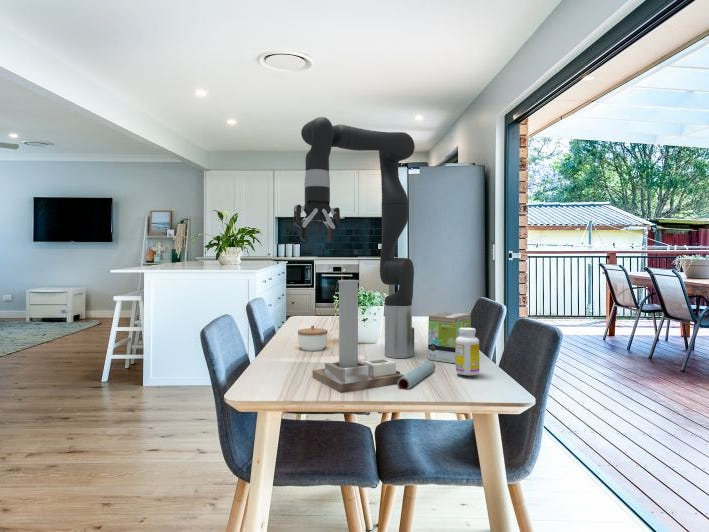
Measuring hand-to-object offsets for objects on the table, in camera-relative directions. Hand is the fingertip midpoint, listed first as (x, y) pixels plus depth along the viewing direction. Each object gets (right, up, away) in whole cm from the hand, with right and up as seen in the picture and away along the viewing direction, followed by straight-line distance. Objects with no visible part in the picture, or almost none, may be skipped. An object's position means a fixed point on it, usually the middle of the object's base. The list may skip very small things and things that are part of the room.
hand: (317, 241), depth 133 cm
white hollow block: (+18, -36, -14) cm, 42 cm away
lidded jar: (-4, -38, +28) cm, 47 cm away
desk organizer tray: (+12, -38, -12) cm, 42 cm away
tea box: (+43, -38, +17) cm, 60 cm away
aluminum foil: (+27, -39, -10) cm, 48 cm away
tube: (+10, -36, -18) cm, 42 cm away
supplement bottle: (+44, -38, -4) cm, 58 cm away
